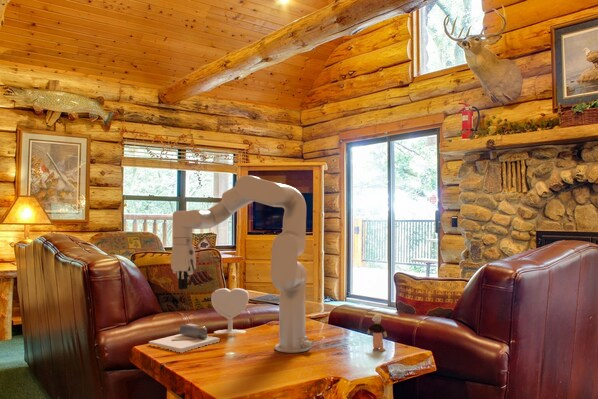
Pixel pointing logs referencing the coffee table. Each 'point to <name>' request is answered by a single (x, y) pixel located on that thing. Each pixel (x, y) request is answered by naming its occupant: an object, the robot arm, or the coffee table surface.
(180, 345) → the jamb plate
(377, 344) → the grandmother figurine
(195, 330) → the lock bar
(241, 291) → the heart sculpture
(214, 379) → the coffee table surface
